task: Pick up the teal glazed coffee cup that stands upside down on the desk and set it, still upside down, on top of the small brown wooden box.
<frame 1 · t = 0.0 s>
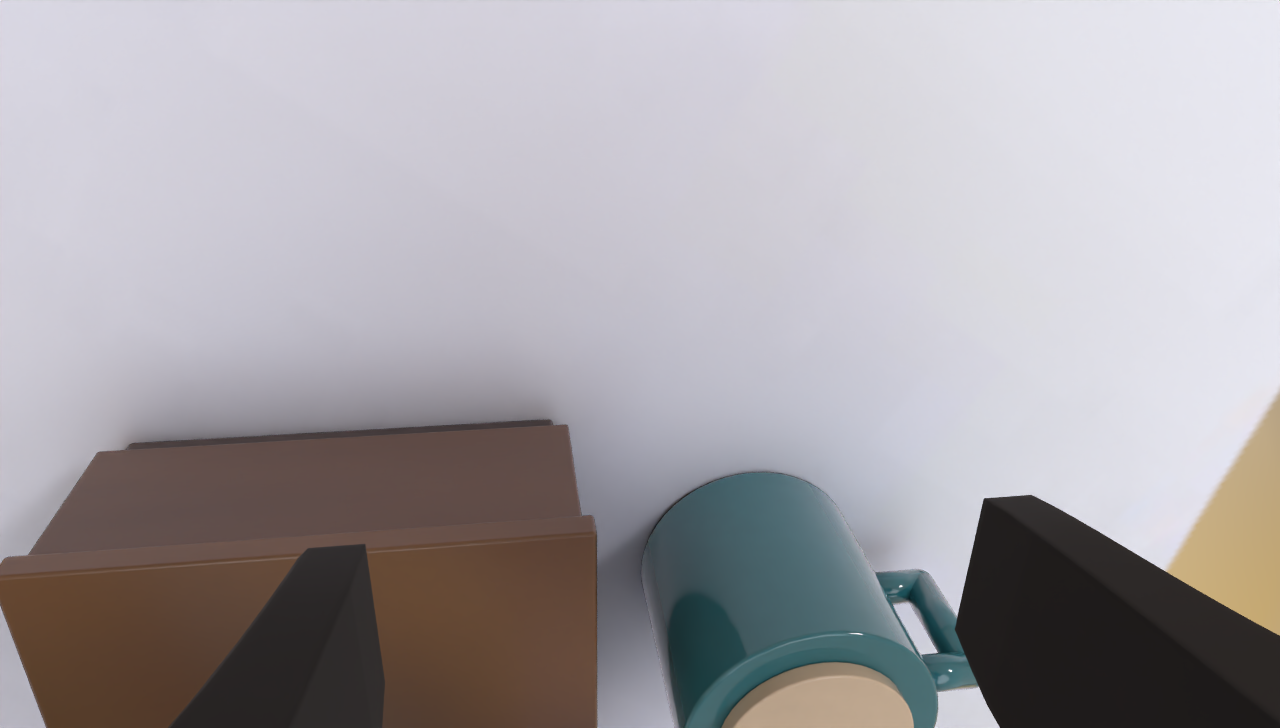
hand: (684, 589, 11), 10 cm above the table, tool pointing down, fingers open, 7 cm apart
brown wooden box: (370, 589, 23), on the table
cup: (745, 559, 24), on the table
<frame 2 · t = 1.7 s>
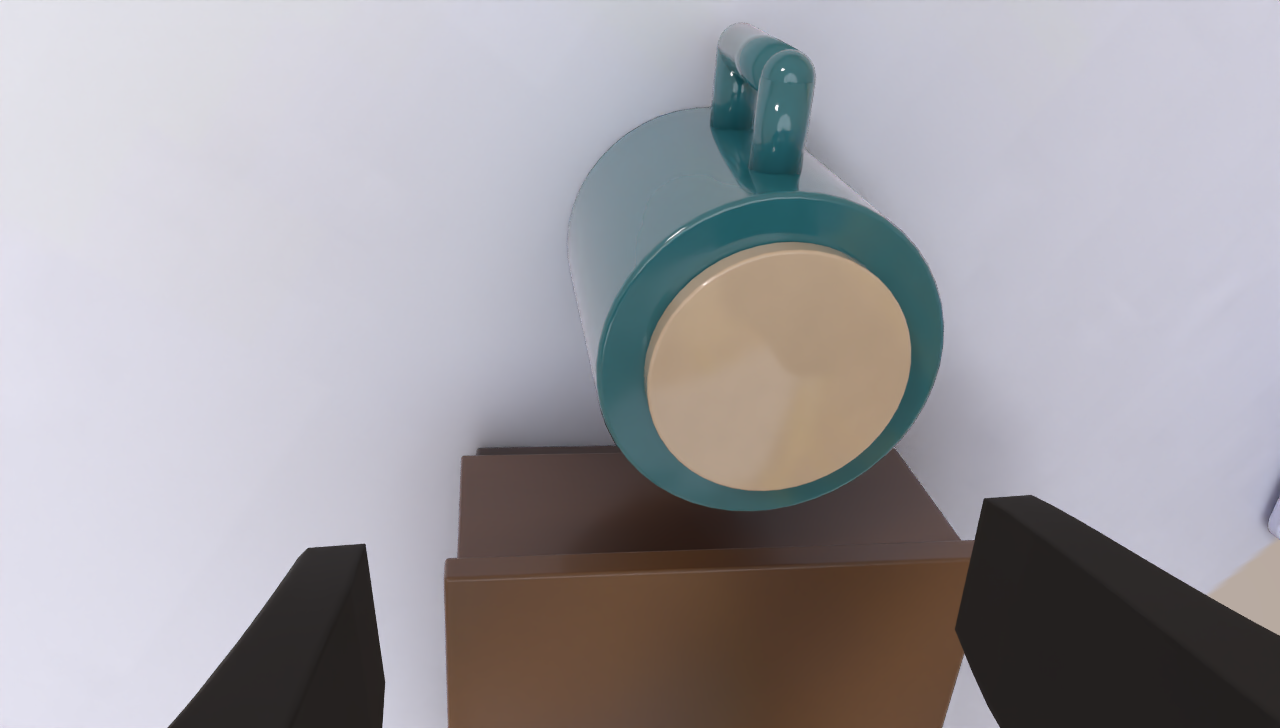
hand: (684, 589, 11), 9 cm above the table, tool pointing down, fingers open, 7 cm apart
brown wooden box: (662, 598, 23), on the table
cup: (699, 241, 19), on the table
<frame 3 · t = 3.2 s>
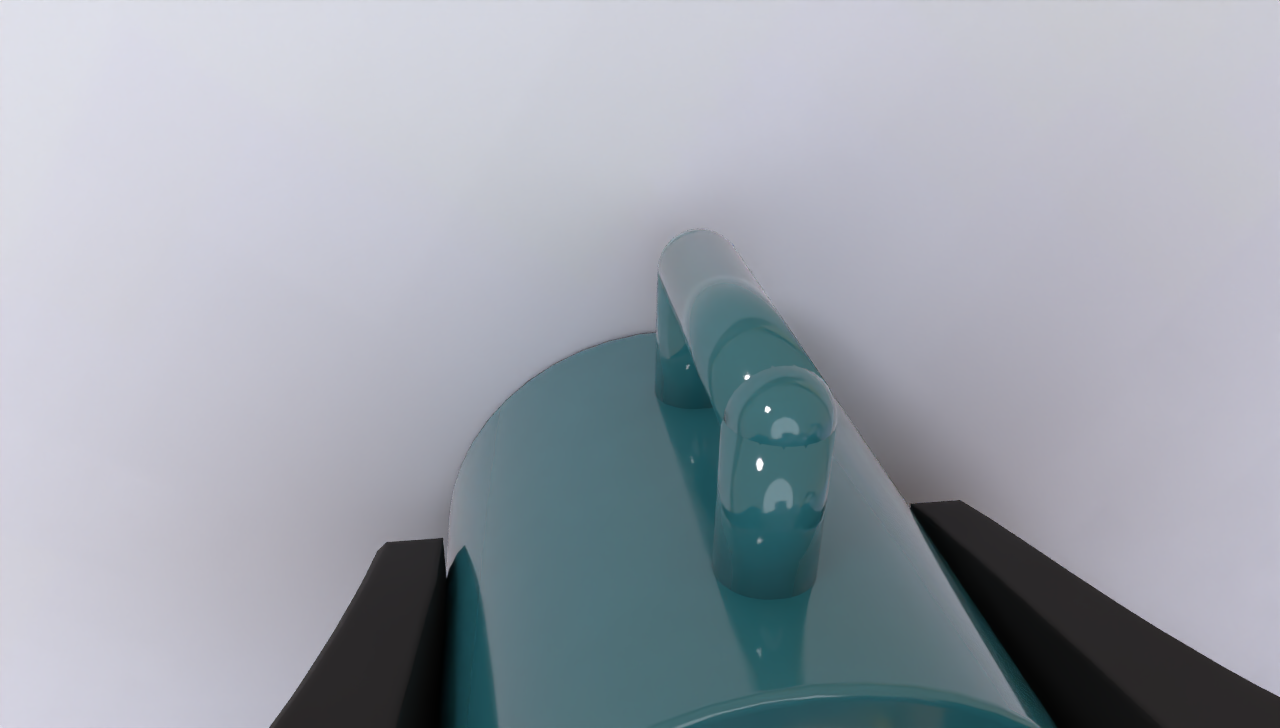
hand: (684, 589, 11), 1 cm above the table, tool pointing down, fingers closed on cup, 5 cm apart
cup: (661, 517, 12), on the table, touching gripper
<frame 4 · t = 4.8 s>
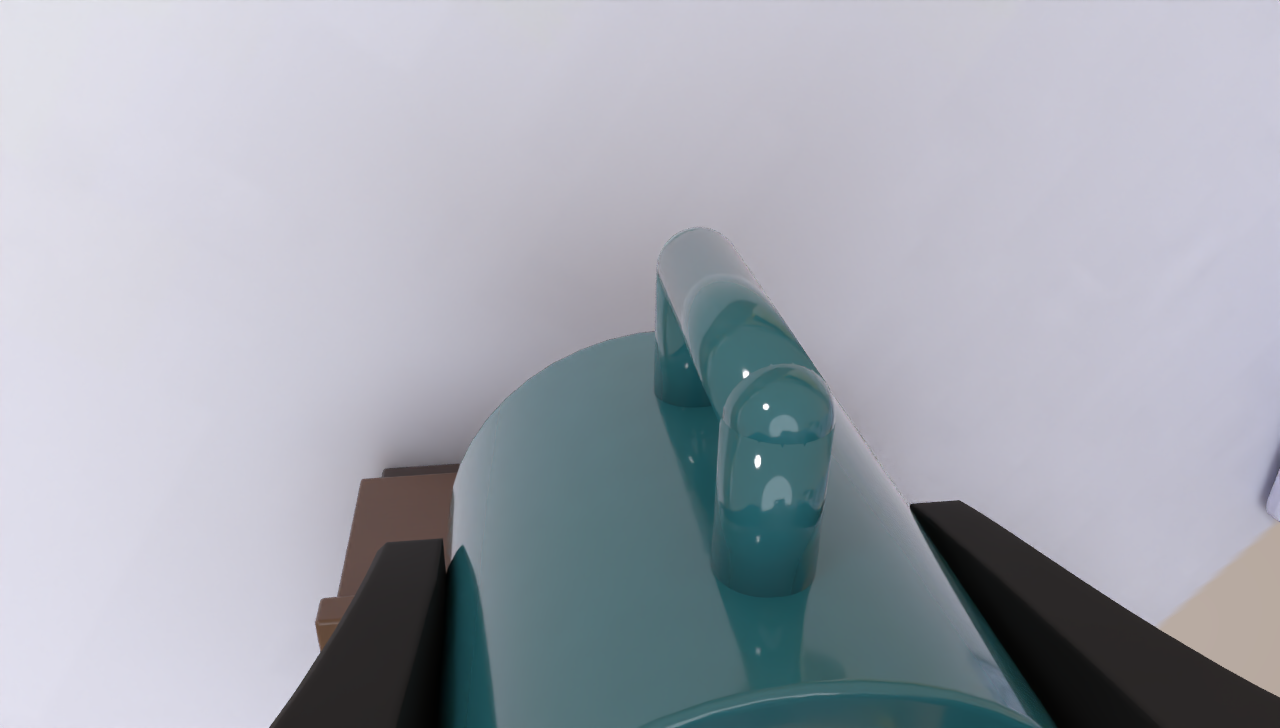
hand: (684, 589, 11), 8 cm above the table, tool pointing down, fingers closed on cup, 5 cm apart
brown wooden box: (605, 618, 22), on the table
cup: (661, 515, 12), point 7 cm above the table, touching gripper
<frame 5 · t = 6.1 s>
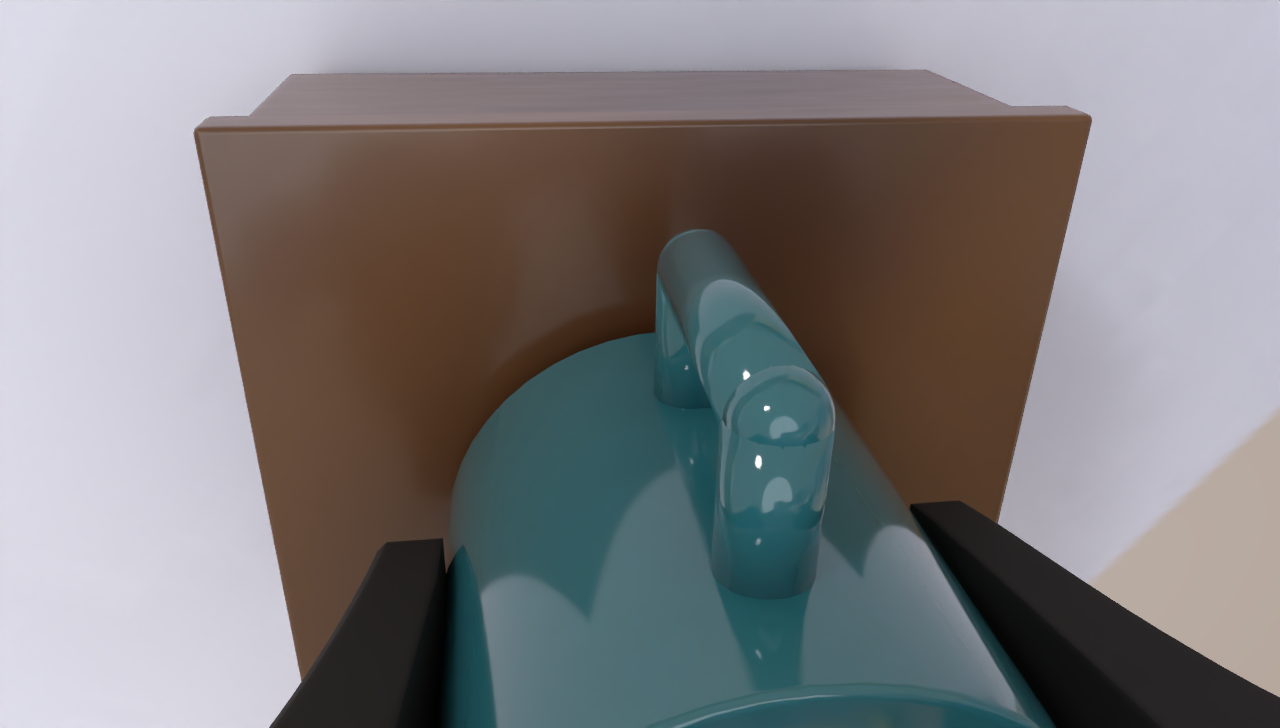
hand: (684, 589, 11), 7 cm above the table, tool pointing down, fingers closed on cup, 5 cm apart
brown wooden box: (615, 338, 17), on the table
cup: (661, 517, 12), point 5 cm above the table, touching gripper
when the fingers open (6 cm above the table, at t = 6.7 s): cup stays where it is, resting on brown wooden box.
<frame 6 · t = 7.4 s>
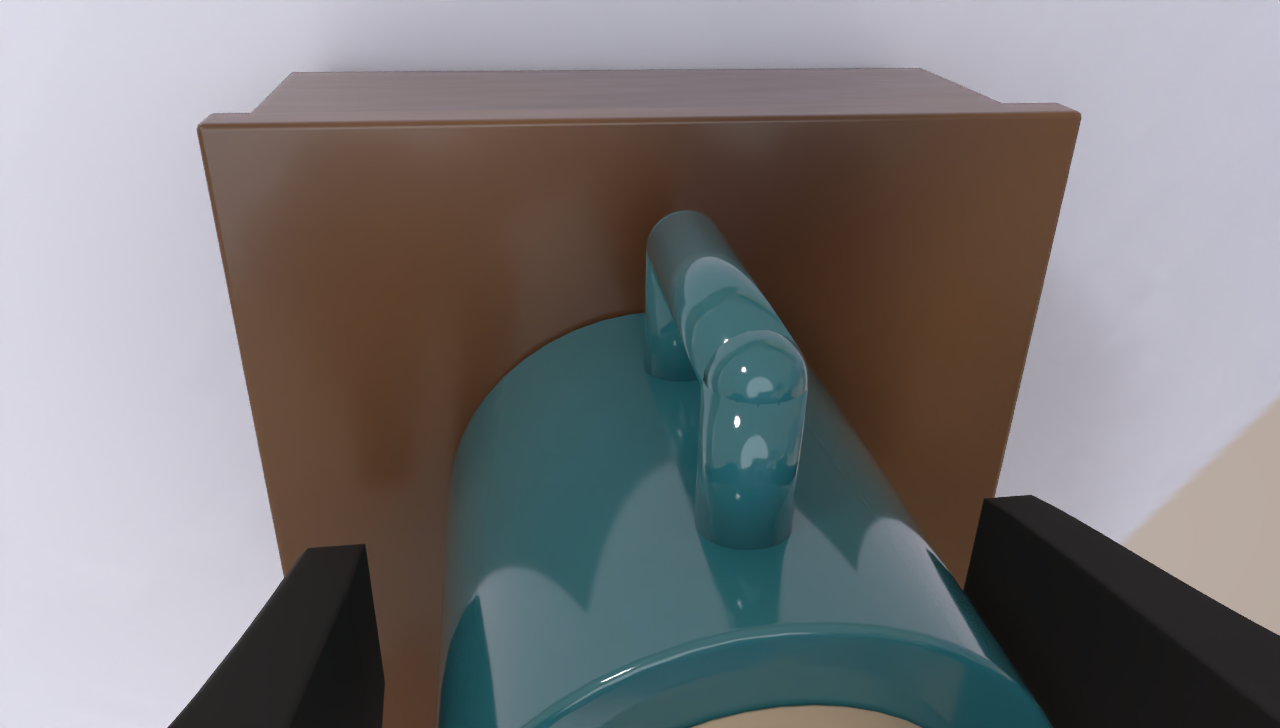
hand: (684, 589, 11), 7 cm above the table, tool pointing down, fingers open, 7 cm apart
brown wooden box: (612, 334, 17), on the table
cup: (652, 491, 13), point 5 cm above the table, touching brown wooden box
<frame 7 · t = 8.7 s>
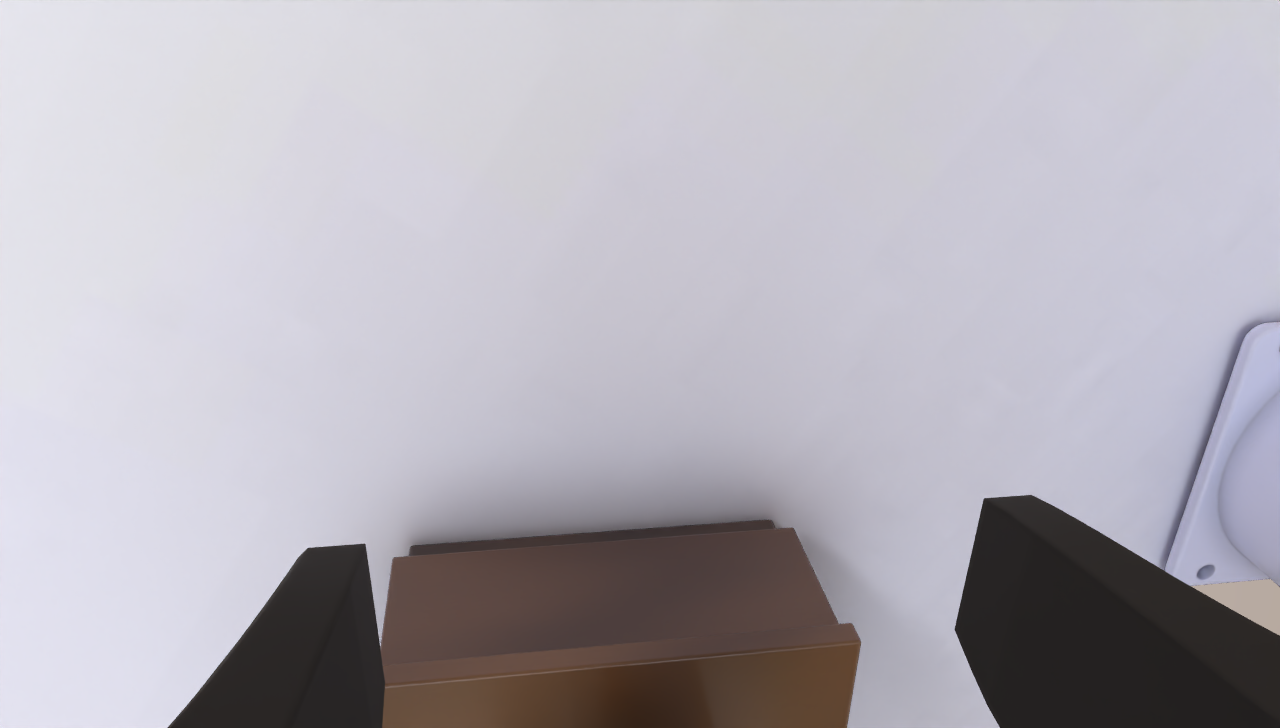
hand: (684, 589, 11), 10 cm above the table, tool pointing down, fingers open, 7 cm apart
brown wooden box: (595, 666, 25), on the table
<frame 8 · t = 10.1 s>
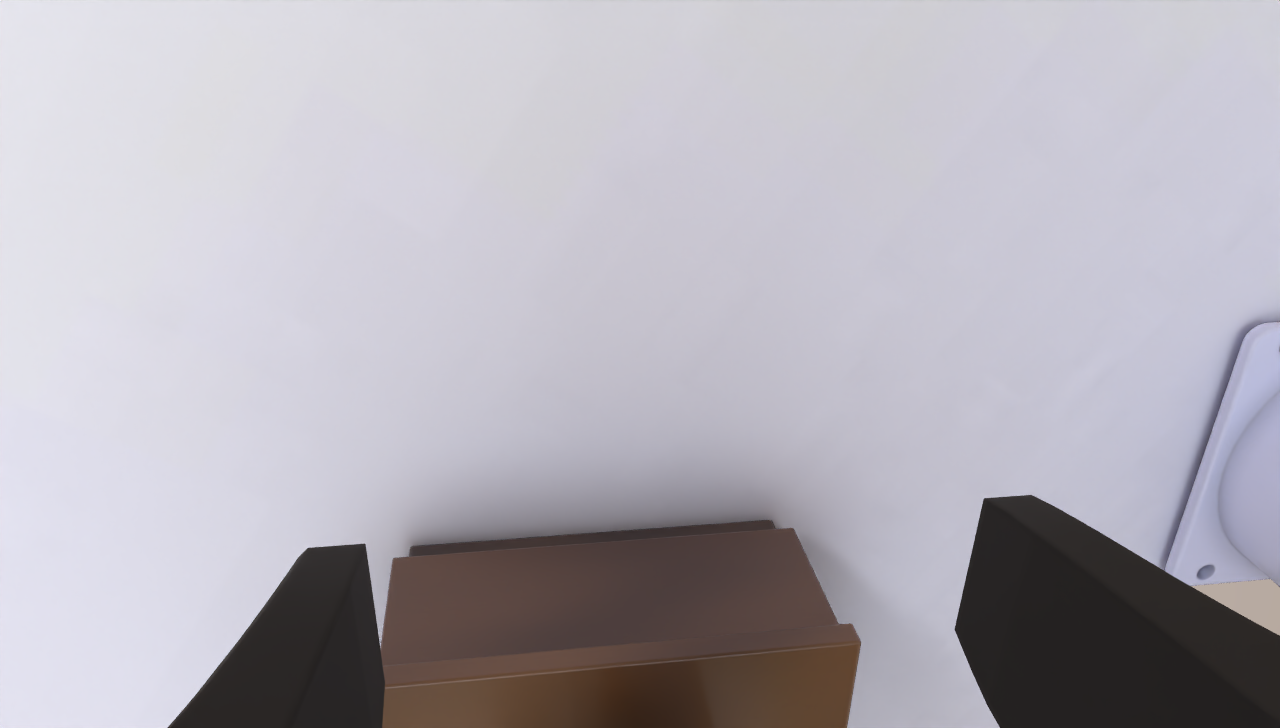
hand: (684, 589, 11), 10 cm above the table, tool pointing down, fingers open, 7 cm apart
brown wooden box: (596, 666, 25), on the table
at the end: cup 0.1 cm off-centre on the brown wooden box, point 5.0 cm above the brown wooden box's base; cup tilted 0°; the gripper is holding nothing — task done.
